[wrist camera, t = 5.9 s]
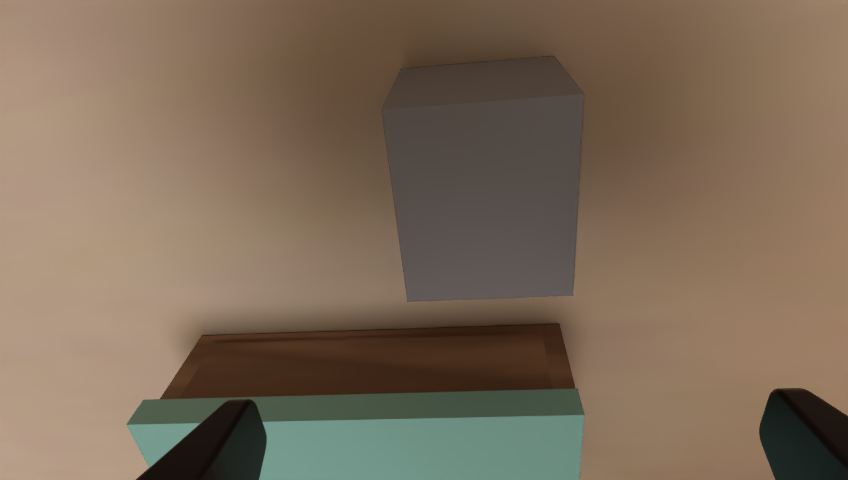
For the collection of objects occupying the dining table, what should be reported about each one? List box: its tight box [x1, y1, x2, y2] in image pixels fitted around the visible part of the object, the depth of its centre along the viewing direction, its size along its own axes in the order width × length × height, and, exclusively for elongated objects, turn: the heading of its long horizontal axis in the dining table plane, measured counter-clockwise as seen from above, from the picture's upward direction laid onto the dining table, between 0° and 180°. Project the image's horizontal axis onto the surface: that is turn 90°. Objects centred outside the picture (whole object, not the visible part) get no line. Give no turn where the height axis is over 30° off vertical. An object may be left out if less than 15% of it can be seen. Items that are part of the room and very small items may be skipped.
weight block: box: [382, 56, 584, 302], centre depth 17 cm, size 6×5×5 cm
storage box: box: [160, 324, 575, 399], centre depth 24 cm, size 12×16×4 cm
